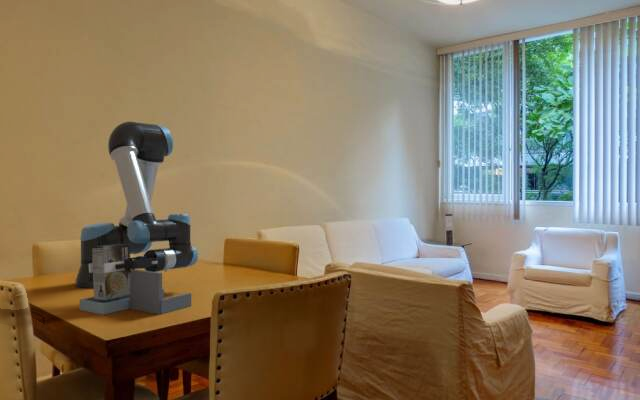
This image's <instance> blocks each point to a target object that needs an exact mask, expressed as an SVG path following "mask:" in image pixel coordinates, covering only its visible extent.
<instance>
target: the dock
mask: <svg viewBox="0 0 640 400" xmlns="http://www.w3.org/2000/svg"><path fill="white" fill-rule="evenodd" d="M190 307H192V292H187V293H186V292H185V293H183V294H177V295H175V296H170V297H166V298H165V288H163V273H162V272H159V271H158V272H151V271H145V270H141V269H134V270H132V269H131V278H130V308H129V309H130V310H134V311H139V312H145V313H150V314H154V315H163V314H168V313H170V312H175V311H179V310H182V309H185V308H190Z"/></svg>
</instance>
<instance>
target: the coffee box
mask: <svg viewBox="0 0 640 400" xmlns="http://www.w3.org/2000/svg"><path fill="white" fill-rule="evenodd" d="M129 245H130V244H118V245H106V246H95V247H92V263H93V284H94V288H93V297H94V299H100V300H108V299H113V298H118V297H123V296H128V295H130V278H131V270H132V269H129V270H126V268H125V270H121V271H114V272H107V273H104V263H112V262H121V261H124V263H125V259H129V261H130V258H131V254H130V246H129Z"/></svg>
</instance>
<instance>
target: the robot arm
mask: <svg viewBox="0 0 640 400" xmlns="http://www.w3.org/2000/svg"><path fill="white" fill-rule="evenodd" d="M172 135H173V134H172V133H171V131H170V130H169V128H167V127H166V126H163V125H159V124H152V123H144V122H136V121H124V122H122V123H120V124H118V125H117V126H115V127H114V128H113V130H112V131H111V133H110V135H109V138H108V143H107V145H108V146H107V148H108V153H109V154H108V155H109V156H110V159H111V160H112V161H114V164H115V167H116V170H117V174H118V177H119V180H120V181H119V182H120V184H121V188H122V190H123V194H124V197H125V201H126V207H125V213H124V216H123V217H122V218H120V219H119V222H118V225H115V223H113V222H100V223H95V224H89V225H86V226H84V227H82V229H81V234H80V238H79V239H80V267H79V269H78V272H77V274H76V278H75V283H74V284H75V285H74V286H75V287H77V288H85V289H86V288H87V289H89V288H91V289H92V288H93V289H94V284H93V263H92V247H95V246H106V245H118V244H130V245H129V246H130V255H137V254H142V253H144V254H143V256H142V255H141V256H140V255H139V256H136V257H130V261H129V259H125V263H124V261H121V262H112V263H104V273H107V272H114V271H121V270H125V268H126V270H129V269H131V270H134V269H135V270H141V269H144V270H145V269H146V270H147V271H151V272H158V273H159V272H161V271H164V272H165V273H167V272H168V271H169V270H177V269H182V268H187V267H192V266H194V265H195V264H196V263H197V262H198V259H199V252H197V248H196V247H195V246H193V245H192V243H191V226H192V225H191V219H190V215H189V214H188V213H173V214H172V213H171V214H168V217H167V219H156V215H155V212H154V209H153V207H152V198H153V194H154V190H155V189H154V188H155V184H156V179H157V174H158V169H159V166H160V165H161V164H163V163H164V161H165V157H168V156H170V155H171V154H172V152H173V149H174V139H173V136H172ZM156 242H168V245H169V247H165V248H158V249H150V248H151V247H152V244H153V243H156Z"/></svg>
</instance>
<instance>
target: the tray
mask: <svg viewBox="0 0 640 400" xmlns="http://www.w3.org/2000/svg"><path fill="white" fill-rule="evenodd" d="M129 309H130V295H128V296H123V297H118V298H113V299H108V300H100V299H94V296H90V297H85V298H81V299H79V310H80V311H84V312H88V313H92V314H98V315H101V316H102V315H108V314H113V313H115V312H116V311H117V312H121V311H124V310H129Z"/></svg>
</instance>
